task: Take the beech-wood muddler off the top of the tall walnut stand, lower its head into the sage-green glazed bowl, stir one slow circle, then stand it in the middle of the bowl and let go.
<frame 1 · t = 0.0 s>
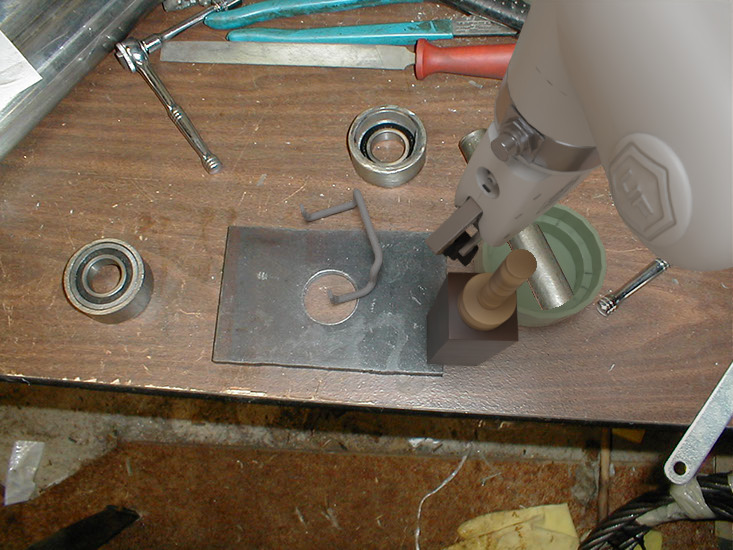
hand: (498, 217, 47), 23 cm above the workbench, tool pointing down, fingers open, 9 cm apart
bowl: (530, 271, 69), on the workbench
muddler: (482, 305, 48), point 20 cm above the workbench, touching stand
bracket: (340, 252, 71), on the workbench
stand: (451, 340, 67), on the workbench
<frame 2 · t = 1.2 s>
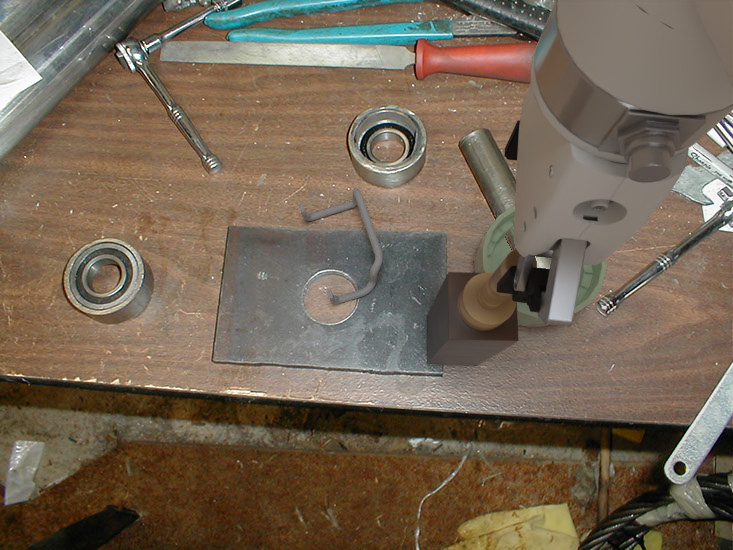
hand: (523, 221, 37), 32 cm above the workbench, tool pointing down, fingers open, 9 cm apart
nothing on the workbench moved.
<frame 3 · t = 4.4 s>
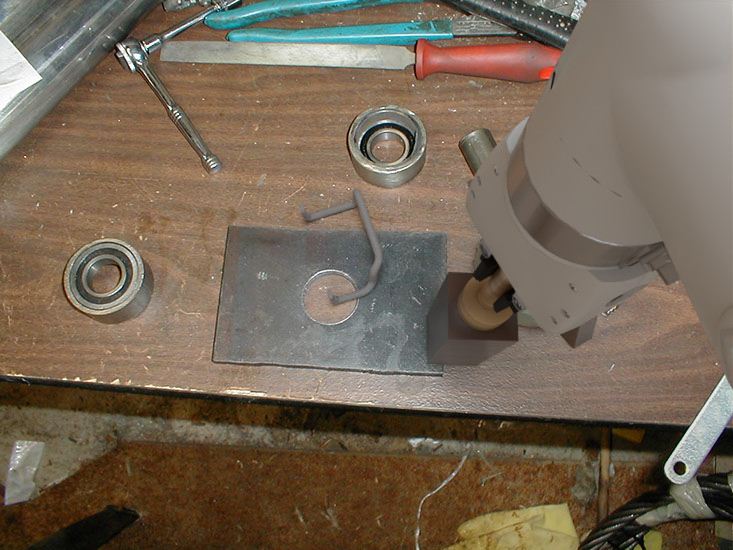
hand: (502, 284, 41), 28 cm above the workbench, tool pointing down, fingers closed on muddler, 2 cm apart
muddler: (482, 305, 48), point 20 cm above the workbench, touching gripper, stand
everything else where it was.
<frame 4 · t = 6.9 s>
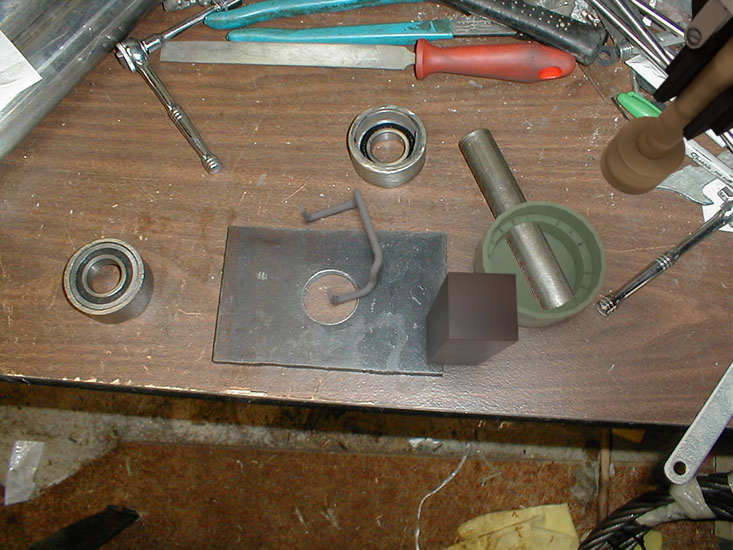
hand: (691, 106, 32), 39 cm above the workbench, tool pointing down, fingers closed on muddler
muddler: (631, 166, 39), point 31 cm above the workbench, touching gripper
everything else where it was.
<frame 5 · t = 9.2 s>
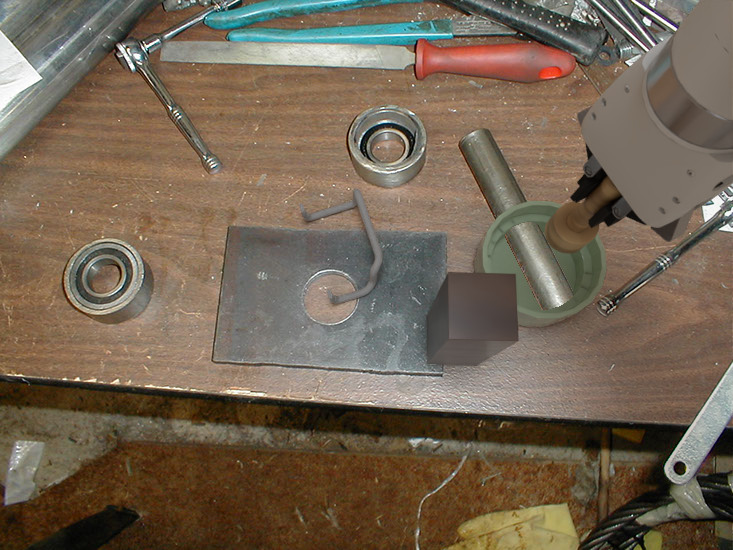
hand: (594, 205, 49), 21 cm above the workbench, tool pointing down, fingers closed on muddler, 2 cm apart
muddler: (566, 233, 56), point 14 cm above the workbench, touching gripper
everything else where it was.
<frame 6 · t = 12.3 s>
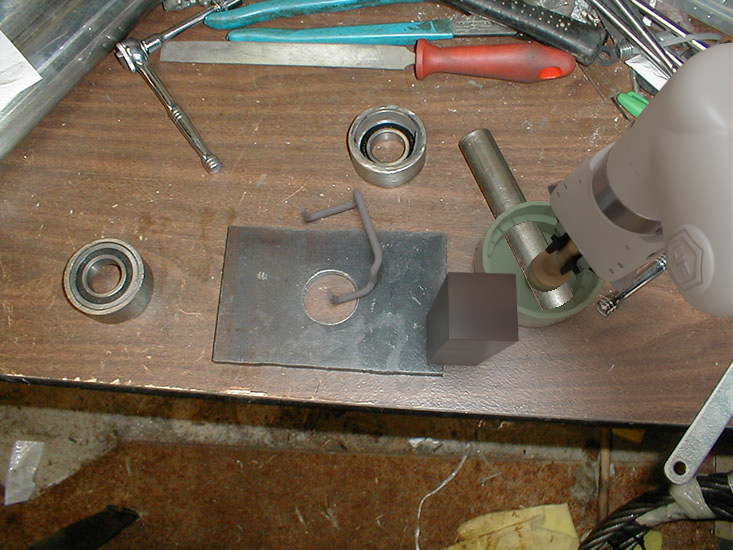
hand: (565, 256, 59), 10 cm above the workbench, tool pointing down, fingers closed on muddler, 2 cm apart
muddler: (544, 274, 67), point 2 cm above the workbench, touching gripper
everything else where it was.
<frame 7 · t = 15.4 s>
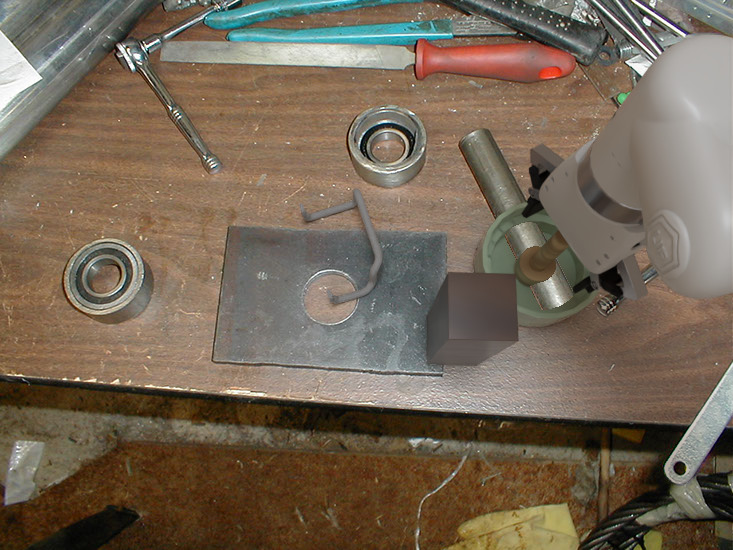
hand: (559, 246, 59), 10 cm above the workbench, tool pointing down, fingers open, 9 cm apart
muddler: (531, 270, 69), resting on bowl
everything else where it was.
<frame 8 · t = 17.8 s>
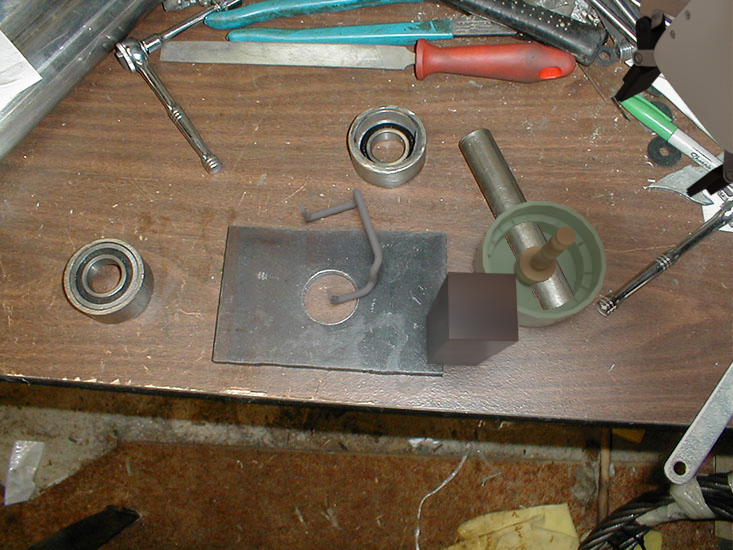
hand: (665, 138, 45), 26 cm above the workbench, tool pointing down, fingers open, 9 cm apart
nothing on the workbench moved.
at the end: muddler inside the target area in the bowl (0.1 cm from its centre), point 0.5 cm above the bowl's base; muddler tilted 0°; muddler moved 23.7 cm from its start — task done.
